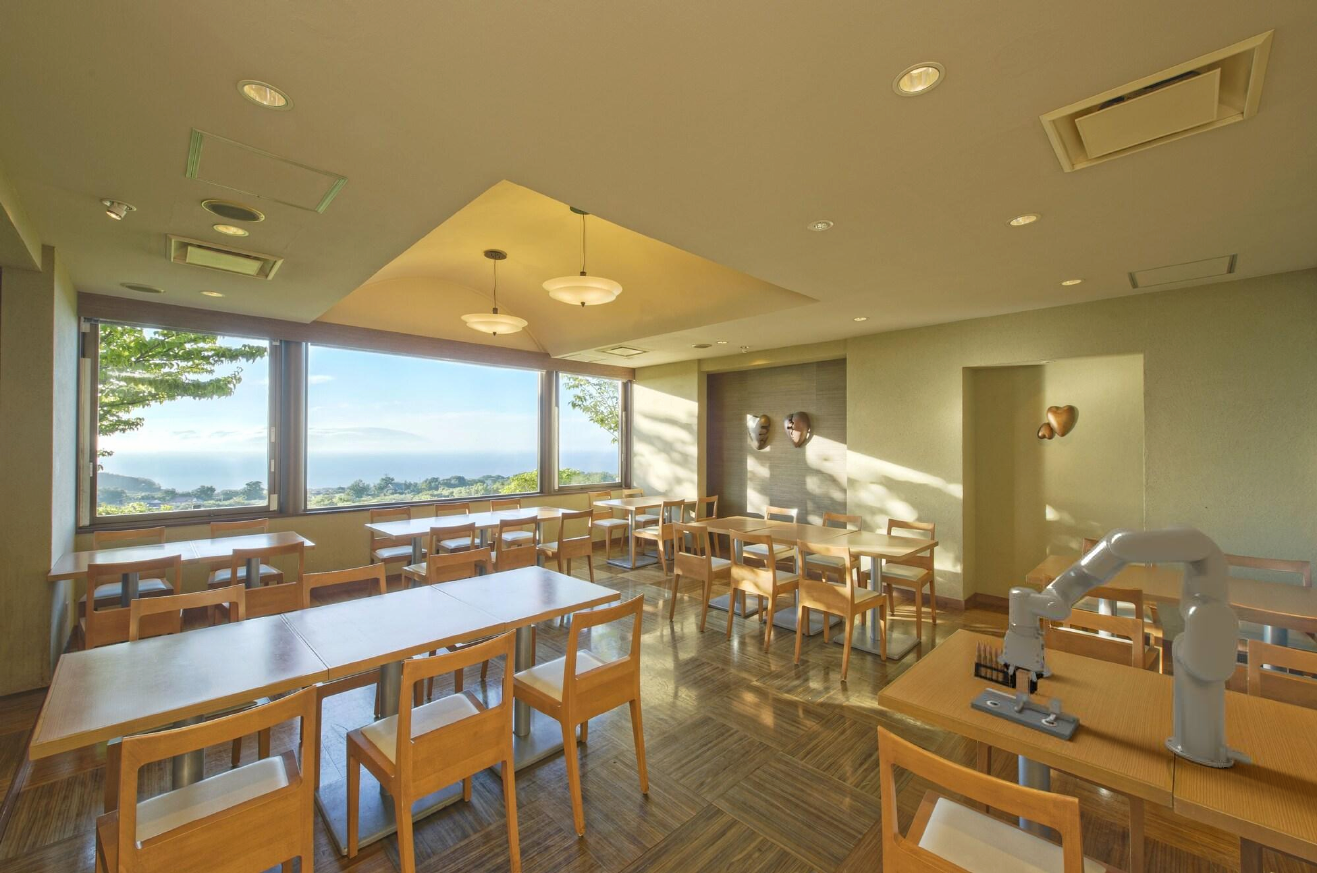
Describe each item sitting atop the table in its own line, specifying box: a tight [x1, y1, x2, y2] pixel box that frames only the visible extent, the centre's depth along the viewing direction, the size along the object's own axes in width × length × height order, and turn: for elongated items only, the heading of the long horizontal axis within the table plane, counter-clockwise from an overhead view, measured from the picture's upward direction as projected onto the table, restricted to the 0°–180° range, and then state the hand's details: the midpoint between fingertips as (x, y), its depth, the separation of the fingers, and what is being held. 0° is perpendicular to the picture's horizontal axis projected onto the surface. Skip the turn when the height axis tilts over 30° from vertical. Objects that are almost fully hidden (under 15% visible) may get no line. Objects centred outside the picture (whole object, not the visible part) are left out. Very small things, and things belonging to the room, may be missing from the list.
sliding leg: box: [1014, 669, 1032, 712], centre depth 160 cm, size 3×9×10 cm, turn 131°
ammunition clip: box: [974, 641, 1012, 688], centre depth 182 cm, size 11×2×12 cm, turn 40°
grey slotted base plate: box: [970, 687, 1081, 742], centre depth 159 cm, size 24×14×6 cm, turn 41°
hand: (1023, 689), depth 162 cm, fingers open, 4 cm apart
